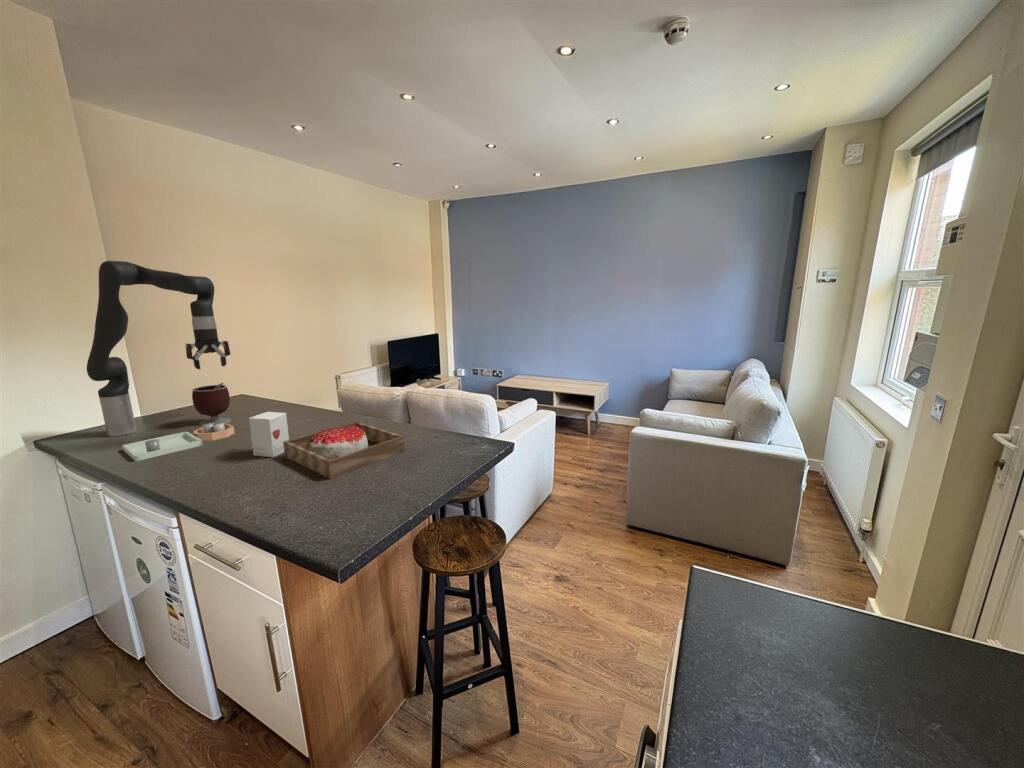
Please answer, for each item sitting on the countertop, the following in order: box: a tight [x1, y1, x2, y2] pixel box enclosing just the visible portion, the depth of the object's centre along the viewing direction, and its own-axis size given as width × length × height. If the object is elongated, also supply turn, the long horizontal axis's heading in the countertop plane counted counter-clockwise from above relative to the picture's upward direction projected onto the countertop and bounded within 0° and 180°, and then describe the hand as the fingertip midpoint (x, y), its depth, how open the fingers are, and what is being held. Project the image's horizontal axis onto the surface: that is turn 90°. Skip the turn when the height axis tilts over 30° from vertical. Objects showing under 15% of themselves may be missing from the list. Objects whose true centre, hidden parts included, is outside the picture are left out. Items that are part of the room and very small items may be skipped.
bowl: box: [192, 423, 235, 442], centre depth 169 cm, size 13×13×4 cm
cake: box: [306, 426, 369, 460], centre depth 152 cm, size 23×24×10 cm
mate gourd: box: [191, 382, 232, 428], centre depth 187 cm, size 16×14×20 cm
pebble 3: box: [213, 423, 225, 432], centre depth 169 cm, size 4×4×5 cm
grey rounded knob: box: [145, 439, 160, 452], centre depth 149 cm, size 4×4×5 cm
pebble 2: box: [202, 423, 214, 433], centre depth 169 cm, size 4×4×5 cm
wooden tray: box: [283, 421, 406, 480], centre depth 152 cm, size 31×30×6 cm
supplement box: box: [248, 411, 290, 458], centre depth 152 cm, size 9×9×15 cm
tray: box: [121, 431, 204, 462], centre depth 155 cm, size 18×20×3 cm
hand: (211, 367), depth 163 cm, fingers open, 8 cm apart
